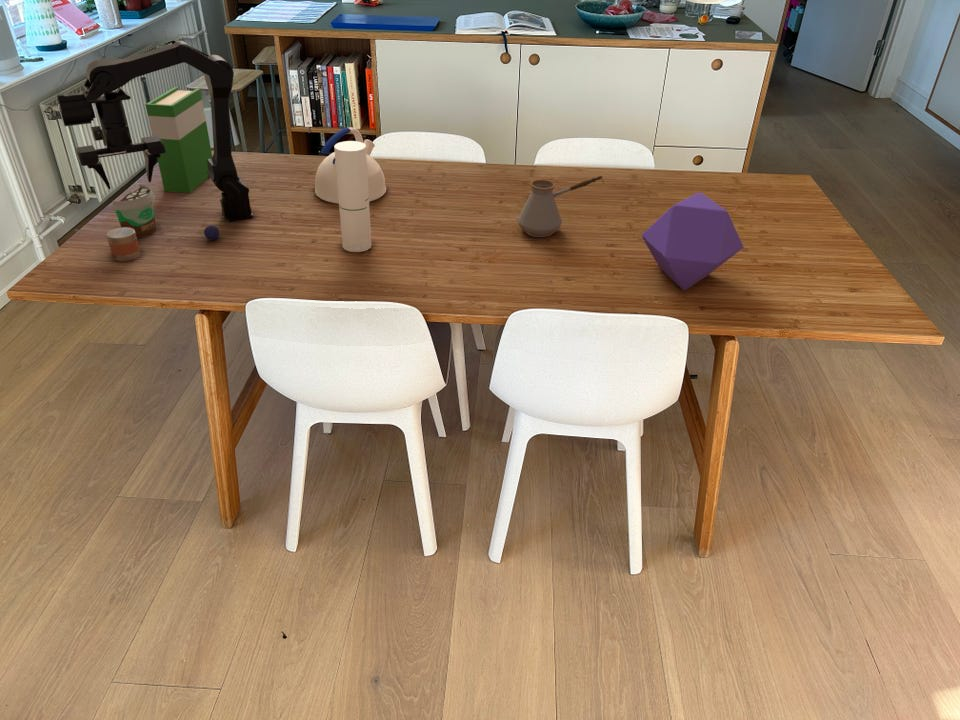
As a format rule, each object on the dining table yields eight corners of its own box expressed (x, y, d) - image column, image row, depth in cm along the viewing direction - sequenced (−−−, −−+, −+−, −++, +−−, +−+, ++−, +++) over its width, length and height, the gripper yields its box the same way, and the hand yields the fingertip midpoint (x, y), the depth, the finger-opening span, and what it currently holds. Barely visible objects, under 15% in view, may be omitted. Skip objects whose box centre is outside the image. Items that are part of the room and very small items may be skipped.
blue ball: (218, 235, 186) (216, 222, 184) (222, 241, 184) (219, 227, 182) (203, 238, 185) (201, 224, 183) (207, 243, 182) (204, 230, 180)
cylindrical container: (376, 242, 186) (371, 143, 172) (363, 254, 180) (357, 152, 166) (350, 237, 188) (343, 139, 173) (337, 249, 182) (328, 148, 168)
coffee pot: (519, 240, 189) (523, 184, 180) (514, 222, 198) (517, 167, 190) (602, 240, 191) (609, 184, 182) (593, 221, 200) (600, 167, 192)
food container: (144, 243, 182) (134, 204, 176) (121, 240, 183) (110, 201, 177) (171, 222, 192) (162, 185, 186) (149, 220, 193) (140, 183, 187)
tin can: (138, 248, 179) (132, 225, 176) (142, 258, 175) (136, 234, 172) (111, 253, 177) (104, 229, 173) (114, 263, 172) (108, 240, 169)
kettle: (401, 188, 216) (399, 125, 206) (354, 211, 201) (350, 145, 191) (347, 172, 225) (343, 112, 214) (299, 193, 210) (292, 130, 200)
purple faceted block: (724, 312, 169) (775, 235, 161) (659, 291, 161) (710, 208, 152) (676, 267, 187) (720, 196, 179) (615, 246, 178) (658, 170, 170)
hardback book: (191, 169, 223) (174, 87, 210) (214, 170, 223) (200, 88, 209) (164, 191, 209) (145, 104, 195) (189, 192, 208) (172, 105, 195)
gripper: (147, 106, 180) (161, 168, 189) (63, 116, 172) (81, 181, 181) (158, 118, 173) (172, 182, 182) (71, 130, 164) (90, 196, 173)
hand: (129, 185), depth 180 cm, fingers open, 9 cm apart
